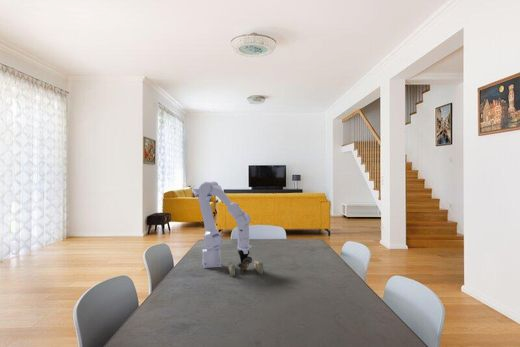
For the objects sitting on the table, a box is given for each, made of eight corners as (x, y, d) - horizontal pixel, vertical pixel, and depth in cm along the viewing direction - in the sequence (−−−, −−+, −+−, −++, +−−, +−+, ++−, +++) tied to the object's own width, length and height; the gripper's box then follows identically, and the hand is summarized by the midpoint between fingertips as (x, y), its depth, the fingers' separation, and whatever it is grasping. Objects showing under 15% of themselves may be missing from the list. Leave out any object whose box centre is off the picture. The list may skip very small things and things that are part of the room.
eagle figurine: (253, 271, 151) (255, 262, 159) (245, 259, 150) (247, 251, 159) (240, 278, 152) (243, 270, 161) (232, 267, 151) (235, 258, 160)
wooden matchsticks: (230, 276, 146) (230, 266, 146) (227, 268, 159) (227, 258, 159) (263, 274, 149) (263, 263, 149) (257, 266, 163) (257, 256, 163)
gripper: (253, 240, 153) (254, 268, 152) (248, 234, 167) (248, 260, 167) (239, 241, 151) (239, 269, 151) (235, 235, 165) (235, 261, 165)
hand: (243, 264), depth 159 cm, fingers closed
